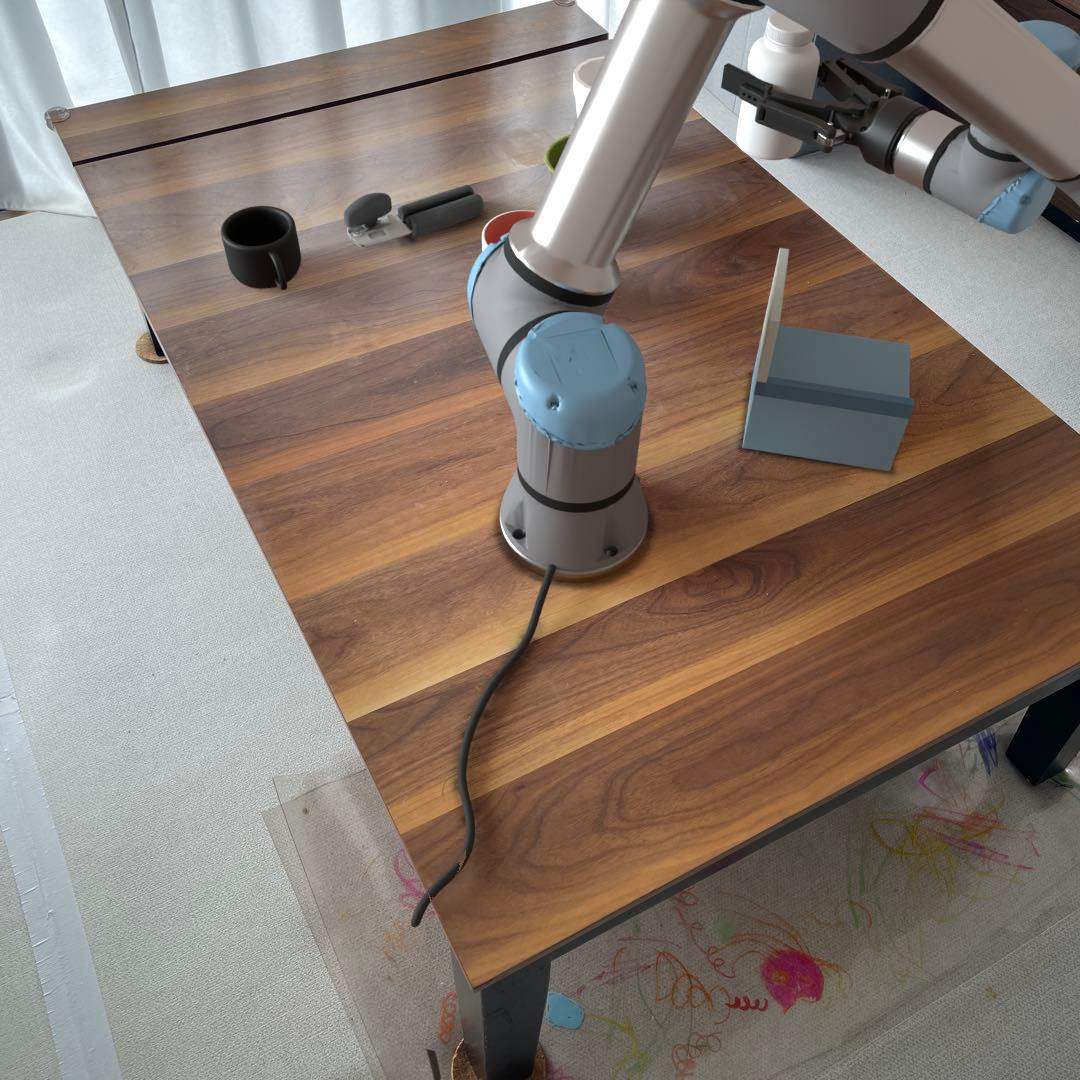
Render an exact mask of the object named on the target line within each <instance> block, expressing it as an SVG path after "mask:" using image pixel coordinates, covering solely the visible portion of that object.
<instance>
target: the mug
mask: <svg viewBox="0 0 1080 1080" xmlns="http://www.w3.org/2000/svg"><path fill="white" fill-rule="evenodd" d="M220 238H221V241H222V246H223V250H224V253H225V256H226V261H227V264H228V268H229V271H230V272H231V274H232V275H233V277H234V278H236V280H237V281H238V282H239V283H241V284H242V285H243V286H246V287H249V288H251V289H252V288H253V289H258V290H259V289H260V290H265V289H266V290H267V289H273V288H278V289H279V290H280V291H285V290H287V289H288V282H290V281H291V280H292V279H293V278H295V276H296V275H297V274H298V272H299V270H300V267H301V264H302V253H301V252H302V251H301V248H300V243H299V242H300V241H299V237H298V232H297V225H296V223H295V220H294V217H292V215H291V214H290V213H289V212H287V211H286V210H284V209H282V208H279V207H276V206H271V205H253V206H248V207H244V208H241V209H239V210H237V211H235V212H233V213H232V214H230V215H229V216H228V217H227V218H226V219H225V220H224V221H223V223H222V225H221V227H220Z"/></svg>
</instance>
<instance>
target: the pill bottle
mask: <svg viewBox="0 0 1080 1080" xmlns="http://www.w3.org/2000/svg"><path fill="white" fill-rule="evenodd" d="M763 34H764V35H763V36H761V37H759V38H758V39H757V40H756V41H755V42H754V43H753V45H752V46H751V48H750V50H749V54H748V59H747V66H746V72H748V73H750V74H752V75H754V76H755V77H757V78H759V79H760V80H763V81H765V82H768V83H770V84H772V85H773V87H772V90H773V91H777V92H781V93H786V94H790V95H794V96H799V97H803V98H807V99H812V100H813V96H814V91H815V86H816V81H817V78H818V77H817V72H818V68H819V62H820V59H821V57H820V56H821V55H820V51H819V49H818V47H817V45H816V44H815V43H814V42H813V38H815V37H814V36H815V33H814V32H812V31H810V30H808V29H807V28H805V27H803V26H801V25H800V24H798V23H796V22H794V21H793V20H791V19H789V18H787V17H786V16H784V15H782V14H781V13H779V12H777V11H776V12H773V13H772V14H770V15H769V16H768V18H767V22H766V27H765V31H764V33H763ZM774 102H775V101H774ZM756 111H757V107H755V106H753V105H751V104H749V103H748V102H745V101H743V100H741V103H740V109H739V116H738V120H737V121H738V122H737V126H736V128H737V129H736V138H735V140H736V143H737V146H738V148H739V149H740V150H741V151H742V152H743V153H745V154H747V155H749V156H750V157H752V158H756V159H759V160H764V161H782V160H786V159H790V158H792V157H793V156H795V155H797V153H798V152H799V151H800V149H801V148H802V145H803V142H804V141H802V140H799V139H797V138H794V137H791V136H789V135H786V134H784V133H781V132H779V131H776V130H773V129H771V128H768V127H766V126H763V125H761V124H758V123H756V122H755V117H756Z"/></svg>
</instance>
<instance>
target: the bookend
mask: <svg viewBox="0 0 1080 1080" xmlns="http://www.w3.org/2000/svg"><path fill="white" fill-rule="evenodd" d="M789 255H790V248H786V247H785V248H784V247H779V249H778V254H777V259H776V264H775V269H774V274H773V278H772V282H771V289H770V292H769V297H768V302H767V306H766V311H765V315H764V320H763V325H762V330H761V334H760V340H759V344H758V348H757V349H758V350H757V353H756V354H757V355H756V358H755V363H754V364H755V365H754V368H753V373H752V379H751V384H750V385H751V386H750V391H749V392H750V393H749V399H748V405H747V411H746V418H745V419H746V420H745V427H744V432H743V440H742V446H741V447H742V449H747V450H753V451H760V452H766V453H772V454H777V455H785V456H790V457H791V456H792V457H797V458H803V459H808V460H815V461H821V462H828V463H833V464H839V465H847V466H851V467H857V468H864V469H870V470H876V471H883V472H891V469H892V467H893V463H894V461H895V459H896V455H897V453H898V451H899V447H900V445H901V442H902V439H903V436H904V434H905V431H906V428H907V426H908V423H909V420H910V418H911V416H912V412H913V410H914V407H915V398H914V397H913V398H912V397H910V385H911V384H910V383H911V382H910V380H911V379H910V378H911V377H910V372H911V371H910V370H911V344H910V343H905V342H897V341H892V340H884V339H878V338H870V337H864V336H857V335H850V334H844V333H837V332H830V331H823V330H817V329H811V328H810V329H809V328H803V327H796V326H790V325H782V324H781V318H782V309H783V301H784V293H785V285H786V279H787V271H788V264H789Z"/></svg>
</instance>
